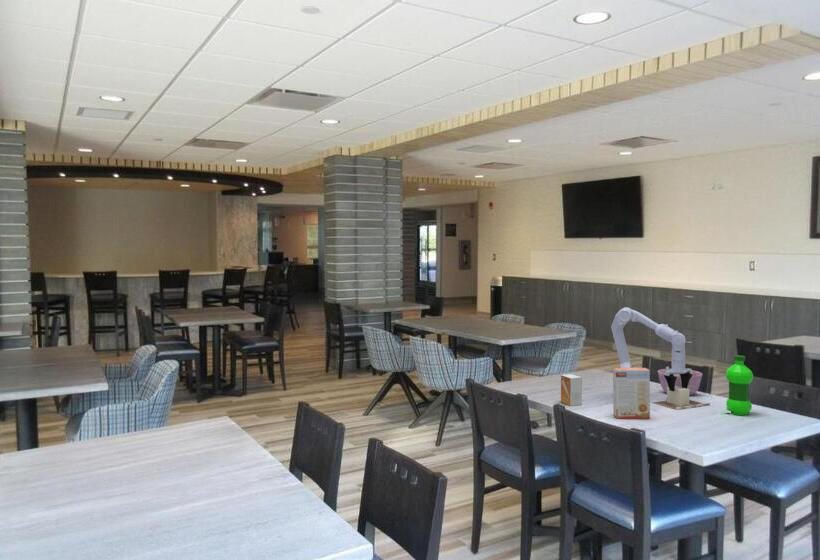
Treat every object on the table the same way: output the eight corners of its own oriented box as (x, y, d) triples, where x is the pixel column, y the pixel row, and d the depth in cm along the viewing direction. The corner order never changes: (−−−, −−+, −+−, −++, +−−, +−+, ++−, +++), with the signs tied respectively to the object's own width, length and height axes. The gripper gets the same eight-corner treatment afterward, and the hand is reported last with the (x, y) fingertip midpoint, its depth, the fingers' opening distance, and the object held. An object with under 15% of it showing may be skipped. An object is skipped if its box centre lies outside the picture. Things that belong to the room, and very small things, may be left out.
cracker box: (646, 415, 266) (646, 367, 265) (650, 419, 260) (650, 369, 259) (612, 415, 267) (612, 366, 266) (615, 418, 261) (616, 369, 260)
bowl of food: (693, 391, 310) (693, 368, 310) (708, 401, 290) (709, 376, 290) (652, 391, 312) (652, 368, 312) (664, 400, 292) (664, 376, 292)
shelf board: (677, 413, 268) (677, 408, 268) (651, 405, 282) (651, 400, 282) (710, 408, 276) (710, 403, 276) (683, 401, 290) (683, 396, 290)
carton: (689, 404, 278) (689, 389, 278) (680, 405, 276) (681, 390, 276) (675, 400, 285) (675, 385, 285) (666, 401, 283) (667, 386, 283)
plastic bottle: (738, 417, 261) (739, 358, 260) (719, 411, 272) (720, 354, 270) (757, 415, 264) (758, 357, 263) (738, 409, 274) (739, 353, 273)
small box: (560, 402, 290) (560, 374, 290) (572, 401, 292) (572, 373, 292) (570, 406, 283) (570, 378, 282) (582, 405, 285) (582, 377, 284)
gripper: (673, 362, 273) (673, 393, 274) (697, 360, 279) (697, 390, 279) (661, 360, 280) (660, 390, 280) (684, 357, 285) (684, 387, 286)
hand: (678, 390), depth 280 cm, fingers open, 7 cm apart
